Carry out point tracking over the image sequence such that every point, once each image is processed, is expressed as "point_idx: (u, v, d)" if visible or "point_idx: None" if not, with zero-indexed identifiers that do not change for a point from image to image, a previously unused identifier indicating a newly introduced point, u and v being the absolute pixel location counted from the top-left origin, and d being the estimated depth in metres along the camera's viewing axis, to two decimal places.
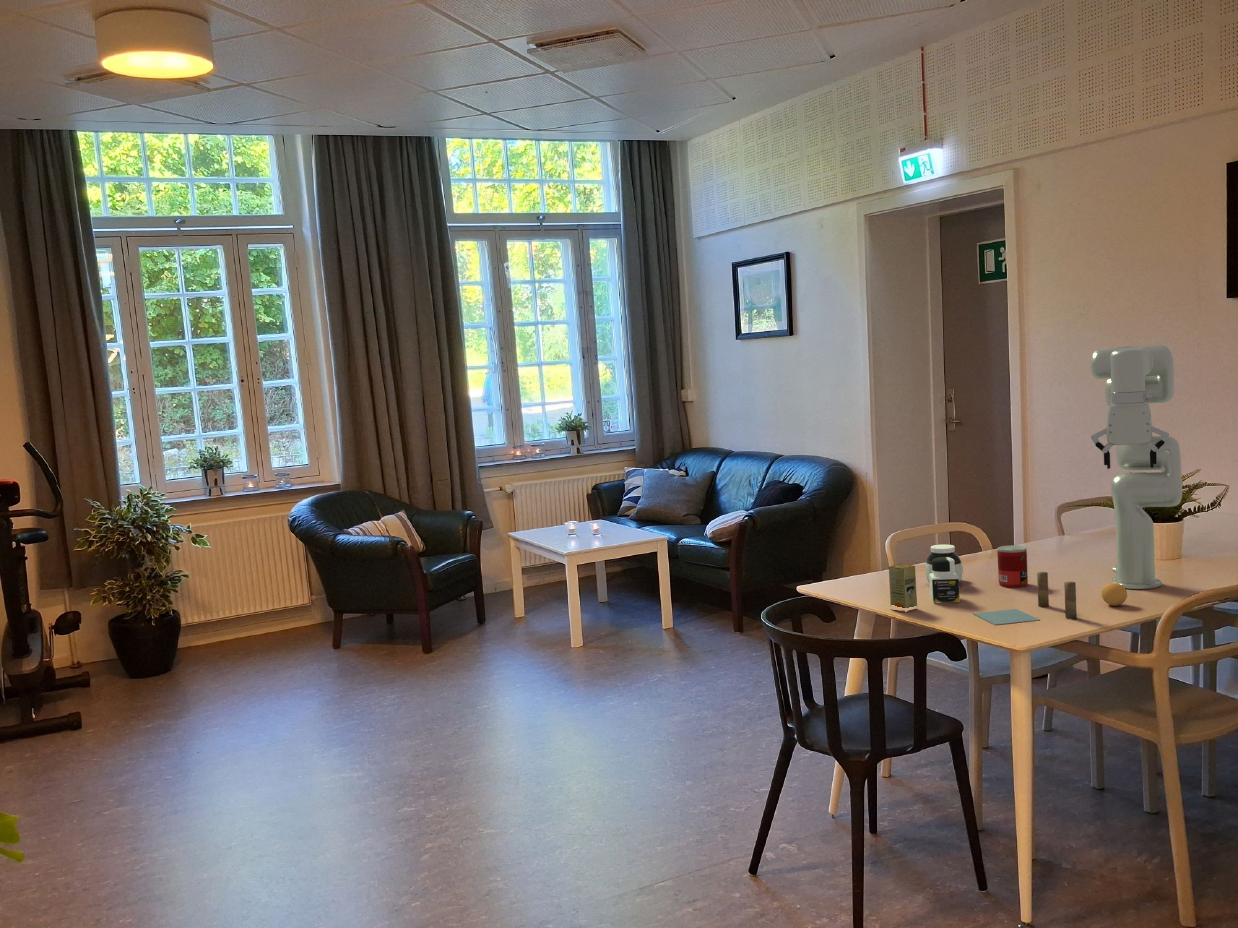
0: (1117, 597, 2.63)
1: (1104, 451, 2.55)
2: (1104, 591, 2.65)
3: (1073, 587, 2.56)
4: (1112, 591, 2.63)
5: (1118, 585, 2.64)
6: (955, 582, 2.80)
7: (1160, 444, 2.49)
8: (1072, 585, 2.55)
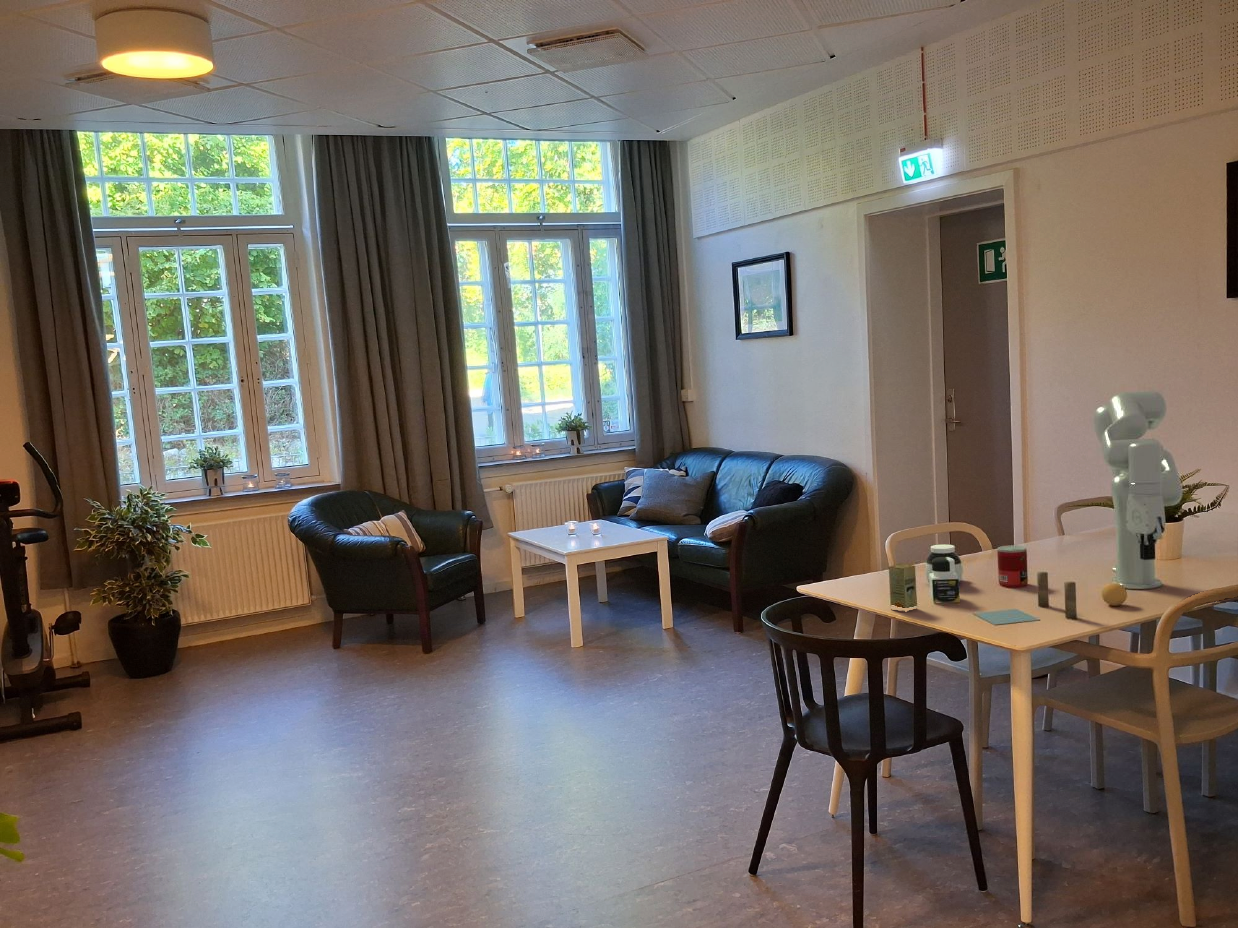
0: (1117, 597, 2.63)
1: None
2: (1104, 591, 2.65)
3: (1073, 587, 2.56)
4: (1112, 591, 2.63)
5: (1118, 585, 2.64)
6: (955, 582, 2.80)
7: None
8: (1072, 585, 2.55)
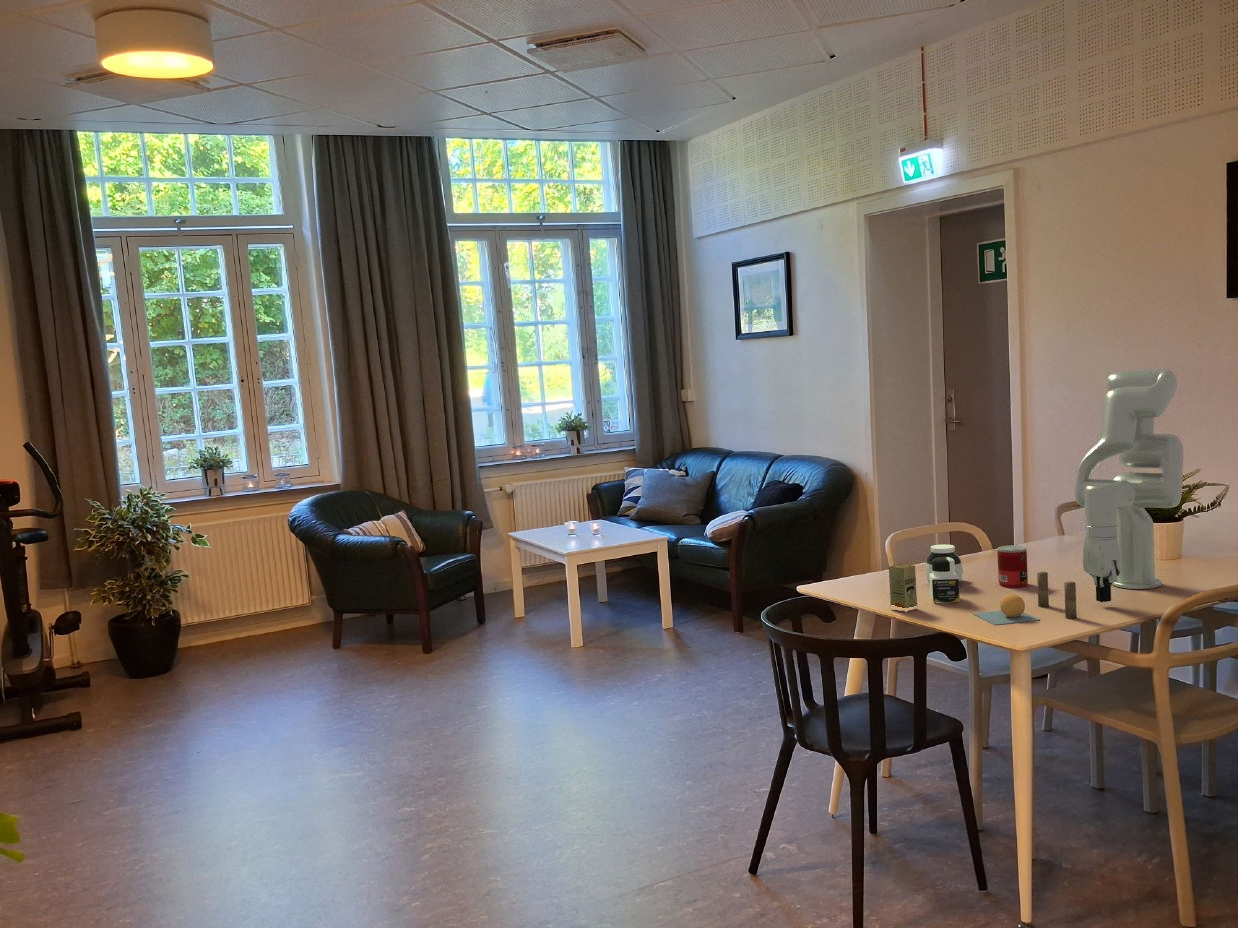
0: (1022, 607, 2.59)
1: None
2: None
3: (1073, 587, 2.56)
4: (1022, 612, 2.60)
5: (1014, 616, 2.60)
6: (955, 582, 2.80)
7: None
8: (1072, 585, 2.55)
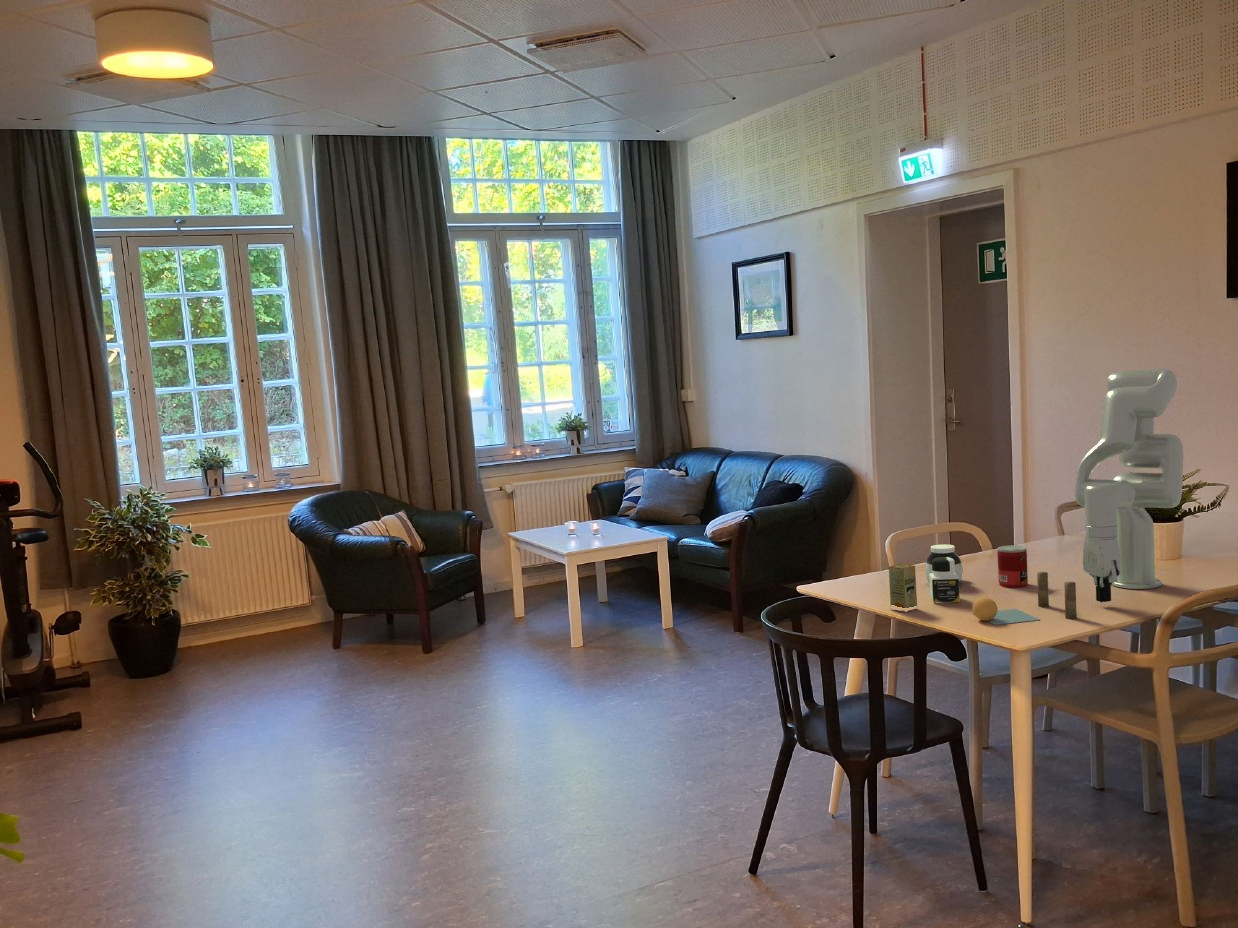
0: (987, 609, 2.58)
1: None
2: (980, 599, 2.60)
3: (1073, 587, 2.56)
4: (987, 602, 2.58)
5: (994, 602, 2.59)
6: (955, 582, 2.80)
7: None
8: (1072, 585, 2.55)
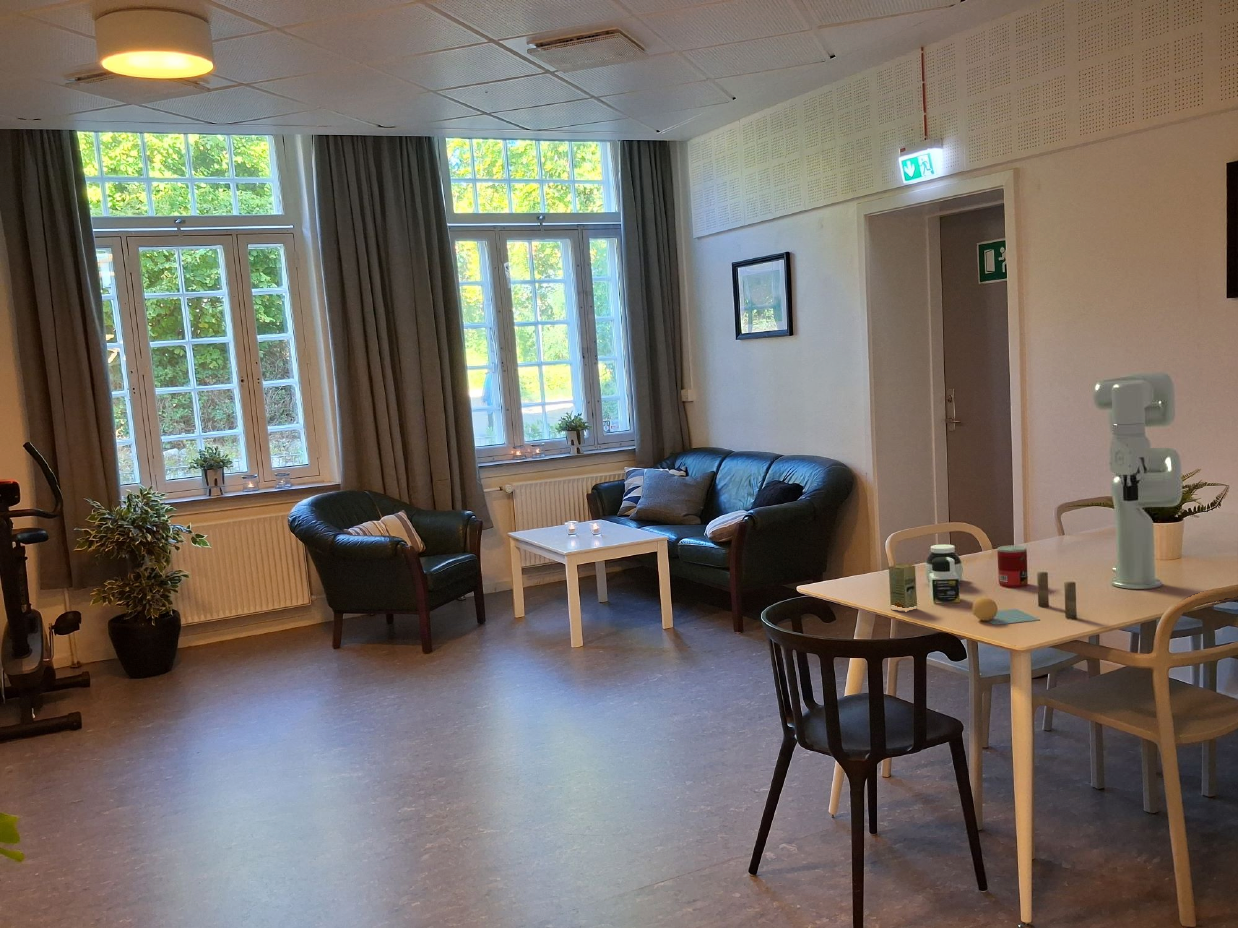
0: (987, 609, 2.58)
1: None
2: (980, 599, 2.60)
3: (1073, 587, 2.56)
4: (987, 602, 2.58)
5: (994, 602, 2.59)
6: (955, 582, 2.80)
7: None
8: (1072, 585, 2.55)
